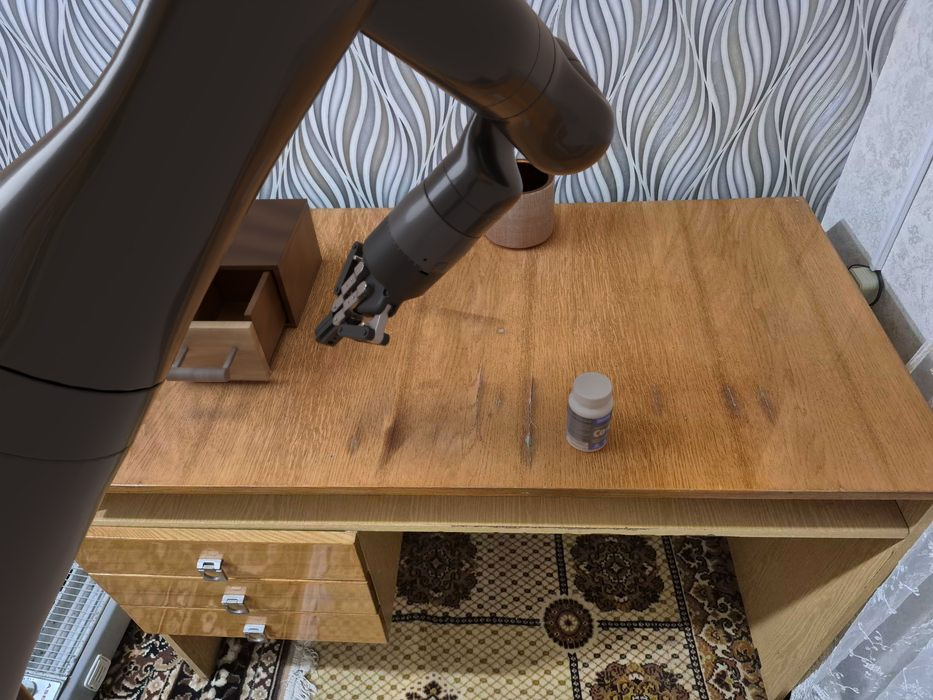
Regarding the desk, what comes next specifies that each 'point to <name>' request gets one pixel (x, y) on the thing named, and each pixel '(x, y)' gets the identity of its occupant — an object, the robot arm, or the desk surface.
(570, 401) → the pill bottle
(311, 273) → the cabinet
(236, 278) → the drawer
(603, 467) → the desk surface
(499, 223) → the planter
